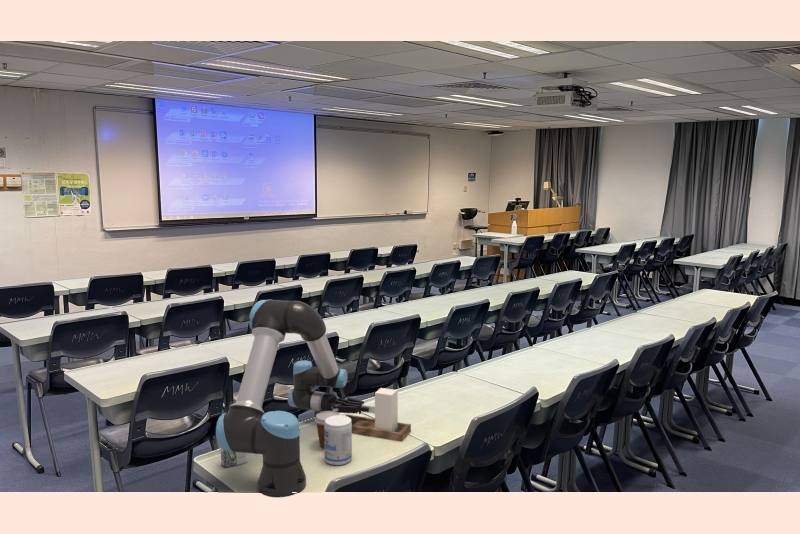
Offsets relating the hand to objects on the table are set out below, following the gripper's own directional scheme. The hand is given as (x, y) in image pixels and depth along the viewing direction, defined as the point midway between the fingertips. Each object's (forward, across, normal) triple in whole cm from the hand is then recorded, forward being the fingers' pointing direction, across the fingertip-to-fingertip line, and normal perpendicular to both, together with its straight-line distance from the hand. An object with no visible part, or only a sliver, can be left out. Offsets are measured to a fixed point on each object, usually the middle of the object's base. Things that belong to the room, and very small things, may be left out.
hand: (377, 409), depth 227 cm
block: (+4, 0, -7) cm, 8 cm away
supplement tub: (-3, +27, -9) cm, 29 cm away
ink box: (-36, +42, -9) cm, 56 cm away
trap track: (-2, 0, -9) cm, 9 cm away
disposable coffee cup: (-12, +18, -9) cm, 24 cm away
